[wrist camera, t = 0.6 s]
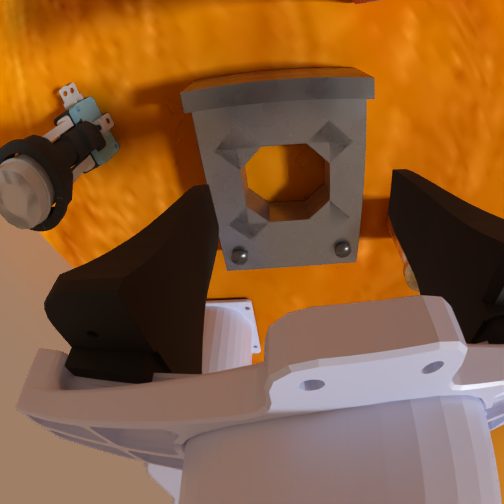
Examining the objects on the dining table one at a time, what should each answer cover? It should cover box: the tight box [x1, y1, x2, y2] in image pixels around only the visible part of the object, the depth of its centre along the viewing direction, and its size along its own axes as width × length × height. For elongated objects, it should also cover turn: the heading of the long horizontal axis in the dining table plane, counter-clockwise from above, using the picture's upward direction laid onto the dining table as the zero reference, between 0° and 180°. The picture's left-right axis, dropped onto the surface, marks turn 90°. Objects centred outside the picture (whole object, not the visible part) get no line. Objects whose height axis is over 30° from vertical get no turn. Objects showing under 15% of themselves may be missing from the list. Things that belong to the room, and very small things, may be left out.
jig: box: [180, 67, 374, 271], centre depth 20 cm, size 14×10×4 cm
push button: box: [0, 83, 119, 231], centre depth 15 cm, size 7×5×10 cm
